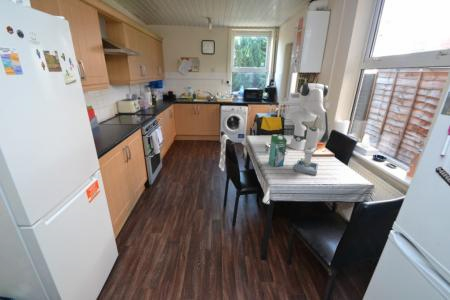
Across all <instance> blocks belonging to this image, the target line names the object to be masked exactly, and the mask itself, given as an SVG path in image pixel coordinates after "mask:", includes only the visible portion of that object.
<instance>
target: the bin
mask: <svg viewBox="0 0 450 300" xmlns="http://www.w3.org/2000/svg"><path fill="white" fill-rule="evenodd" d="M304 163H305V162H304V161H302V160H301V159H298V160H297V161H296V164H295V166H294V172H297V173H298V172H299V173H303V174H308V175H312V176H317V173H318V168H319V163H317V162H312V161H311V163H310V167H305V166H304Z"/></svg>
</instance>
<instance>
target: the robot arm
mask: <svg viewBox="0 0 450 300" xmlns="http://www.w3.org/2000/svg"><path fill="white" fill-rule="evenodd" d="M299 92H300V95H301V96H302V97H301V101H300V107H301V108H303V109H293V110H291V111H290V112H289V114H288V117H289V120H290V121H292V122H293V125H294V132H293V134H292V135H293V136H292V138H291V140H290V143H289V144H288V147H289V148H291V149H293V150H297V151H303V150H304V151H303V152H304V158H305V159H304V162H305V163H306V166H308V163H310V160H311V161H312V156H313V155H314V153H315V152H316V151H317V147H318V143H321V144H324V143H326V142H328V141H329V139H330V134H329V124H328V113H327V110H326V108H324V104H323V103H324V98H325V97H327V96H328V94H329V86H328V85H327V84H323V83H322V84H321V83H316V82H315V83H311V82H310V83H309V82H305V83H302V85H301V86H300V89H299ZM317 117H318V118H319V119H320V121H321V129H320V128H319V127H316V126H309V127H308V128H307V127H306V125H305V124H302V122H307V123H308V122H315V120H316V119H317Z"/></svg>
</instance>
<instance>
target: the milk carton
mask: <svg viewBox="0 0 450 300" xmlns="http://www.w3.org/2000/svg"><path fill="white" fill-rule="evenodd" d="M270 137H271V139H270V147H269V155H268V164H269V165H270V166H272V167H275V168H276V167H284V162H285V157H286V149H287V142H288V140H287V139H286V137H284V135H283V134H282V133H280V134H275V133H274V134H271V136H270Z"/></svg>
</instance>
